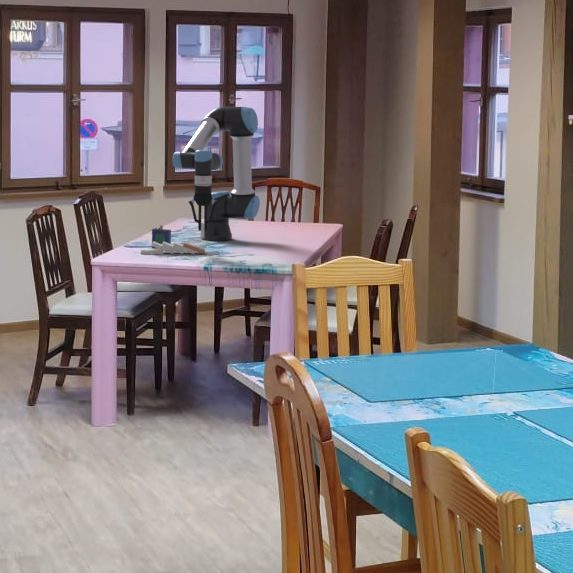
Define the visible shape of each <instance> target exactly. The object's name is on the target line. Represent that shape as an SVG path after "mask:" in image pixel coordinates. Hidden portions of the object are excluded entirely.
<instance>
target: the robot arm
mask: <svg viewBox="0 0 573 573" xmlns="http://www.w3.org/2000/svg"><path fill="white" fill-rule="evenodd" d="M199 125H200V126H199V127H198V128H197V130H196V132H195V133H194V134H193V136H192V137H191V138H190V140H189V141H188V143H187V144H186V145H185V147H184V148H183V150H182V151H175V152H174V153H173V155H172V161H171V162H172V166H173V167H174V168H175V169H181V170H194V185H195V186H194V194H193V198H192V199H190V200H188V203H189V205H190V207H191V212H192V216H193V220H194V222H195V223H197V224H198V225H197V227H198V231H200V239H201V240H205V241H218V242H219V241H222V242H223V241H230V239H231V240H232V239H233V234H232V231H231V227H230V219H235V220H236V219H237V220H244V221H246V220H253V219H255V218H256V217H257V215H258V213H259V210H260V203H261V202H260V197H259V196H258V195H256V190H255V189H253V184H252V183H253V182H252V179H253V176H252V142H251V141H252V138H253V137H254V136H255V133H256V132H257V130H258V126H259V120H258V115H257V112H256V110H255V109H254V108H252V107H246V106H220V107H216V108H214V109H212V110H211V111H209V112H208V113H207V114H206V115H204V117H203V118H202V119H201V121H200V124H199ZM220 132H229V133H228V134H229V137H230V138H231V139H232V155H233V156H232V158H233V159H232V160H233V161H232V162H233V167H232V168H233V189H232V190H231V191H229V190H223V191H222V190H221V191H213V192H212V190H213V189H212V188H213V187H212V181H213V180H212V179H213V178H212V176H213V175H212V174H213V173H212V172H213V171H217V170H219V169H220V168H222V166H223V164H224V159H223V157H222V155H221V154H220V153H217V152H212V150H211V149H205V148H206V147H207V145H208V144H209V143H210V141H211V140H212V138H213V137H214V136H215V135H217V134H219V133H220ZM195 203H196V205H197V206H198V214H196V210H195V205H194V204H195ZM202 207H203V209H204V211H203V213H204V214H203V215H204V216H203V220H204V221H203V222H202ZM197 215H198V216H197ZM197 217H198V219H197Z"/></svg>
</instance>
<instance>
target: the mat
mask: <svg viewBox="0 0 573 573" xmlns="http://www.w3.org/2000/svg"><path fill="white" fill-rule="evenodd" d="M152 256H221V253H220V252H219V251H205V253H204V254H202V253H199V252H196V251H195V253H194V254H192V253H189V252H186V251H184V253H183V254H181V253H178V252H176V251H174V252H173V254H171V253H169V252H166V251H164V254H152Z"/></svg>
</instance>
